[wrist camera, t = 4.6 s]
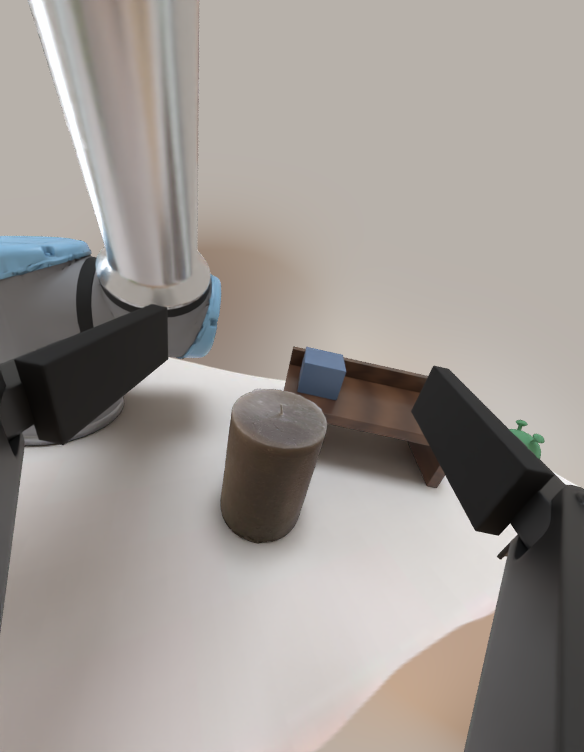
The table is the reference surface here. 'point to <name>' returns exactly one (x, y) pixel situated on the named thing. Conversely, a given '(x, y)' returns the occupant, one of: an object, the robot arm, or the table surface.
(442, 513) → the table surface
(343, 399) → the shelf
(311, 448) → the pillar candle
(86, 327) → the robot arm
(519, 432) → the alien toy
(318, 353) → the slate box
